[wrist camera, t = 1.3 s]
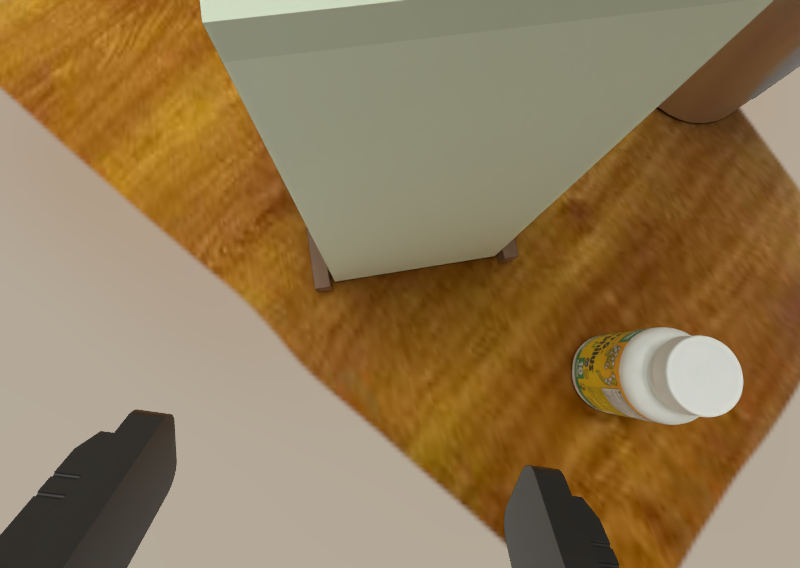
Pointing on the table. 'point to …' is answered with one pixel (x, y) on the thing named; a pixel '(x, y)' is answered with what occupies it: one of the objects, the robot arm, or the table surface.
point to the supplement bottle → (657, 375)
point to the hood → (450, 108)
